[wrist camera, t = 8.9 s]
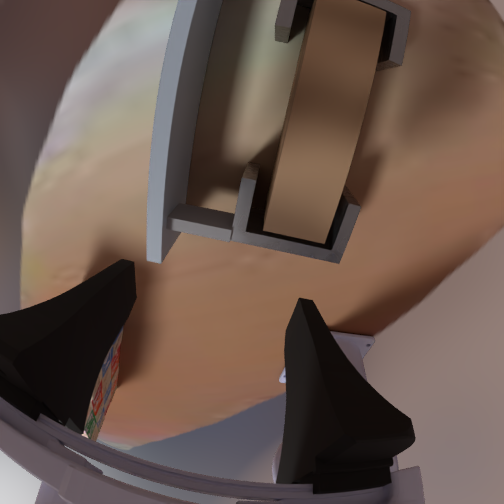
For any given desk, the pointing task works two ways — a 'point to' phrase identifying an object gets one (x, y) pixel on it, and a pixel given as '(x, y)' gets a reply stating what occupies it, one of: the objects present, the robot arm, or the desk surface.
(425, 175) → the desk surface
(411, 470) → the robot arm
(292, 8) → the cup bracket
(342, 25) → the rail
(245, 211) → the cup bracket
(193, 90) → the backboard
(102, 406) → the stack of blocks
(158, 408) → the desk surface
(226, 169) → the desk surface
